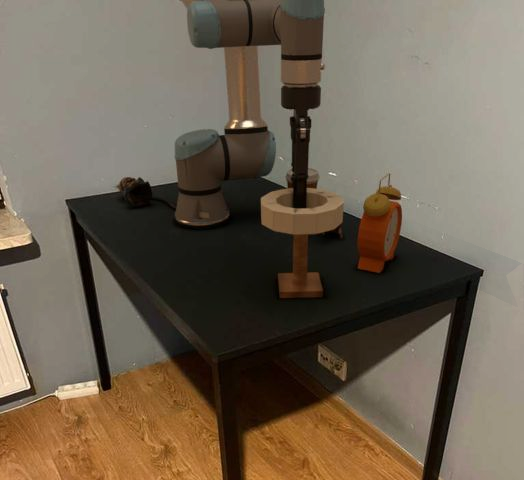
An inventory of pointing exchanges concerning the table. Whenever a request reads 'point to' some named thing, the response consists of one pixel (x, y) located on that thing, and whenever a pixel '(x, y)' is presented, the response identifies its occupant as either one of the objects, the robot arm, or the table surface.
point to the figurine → (135, 191)
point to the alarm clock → (379, 228)
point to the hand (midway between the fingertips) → (298, 207)
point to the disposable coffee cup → (311, 180)
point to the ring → (302, 212)
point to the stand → (299, 274)
